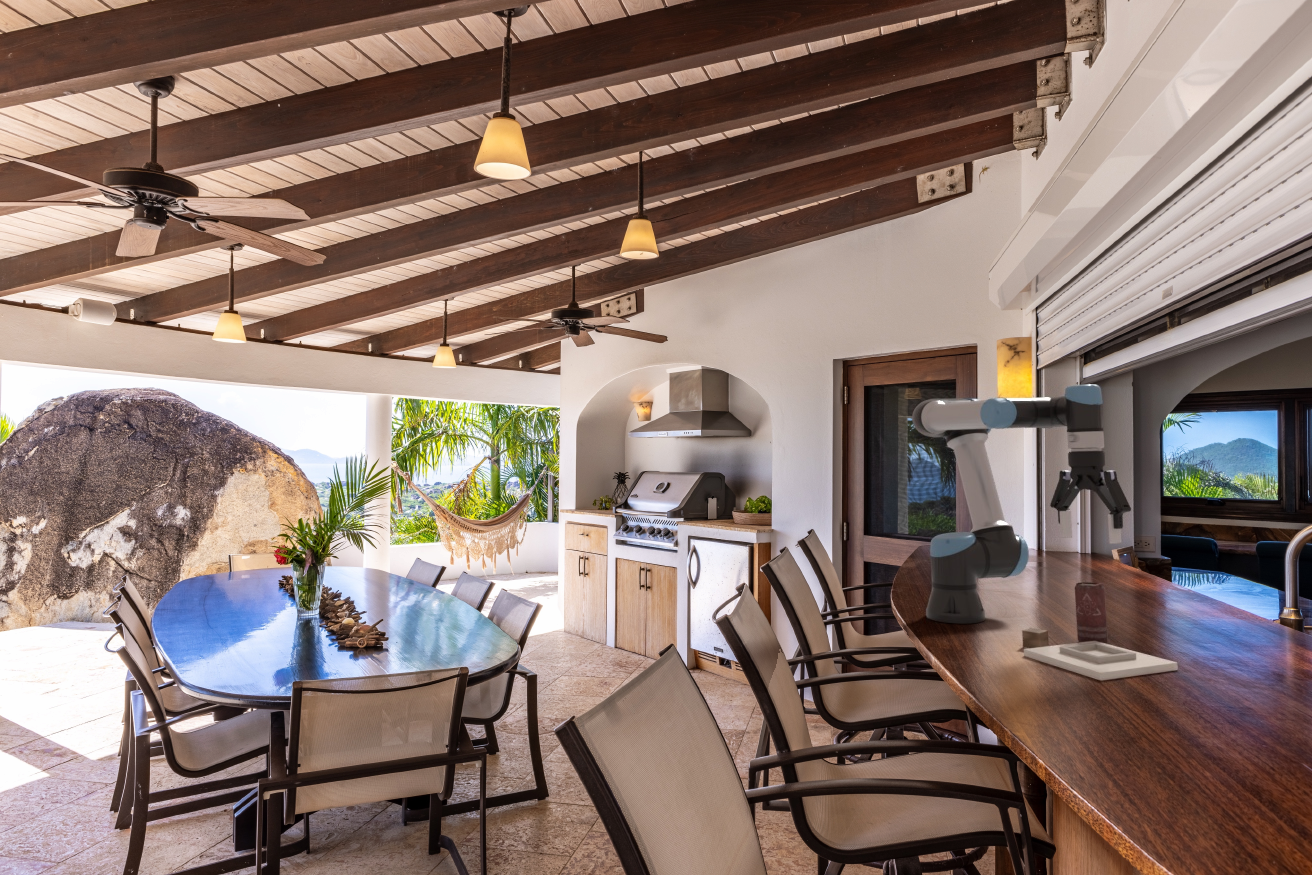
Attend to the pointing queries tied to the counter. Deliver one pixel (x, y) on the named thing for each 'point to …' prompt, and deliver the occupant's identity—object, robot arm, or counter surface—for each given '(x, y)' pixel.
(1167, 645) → the counter surface
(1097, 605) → the can
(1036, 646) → the walnut block
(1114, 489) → the robot arm
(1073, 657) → the board
